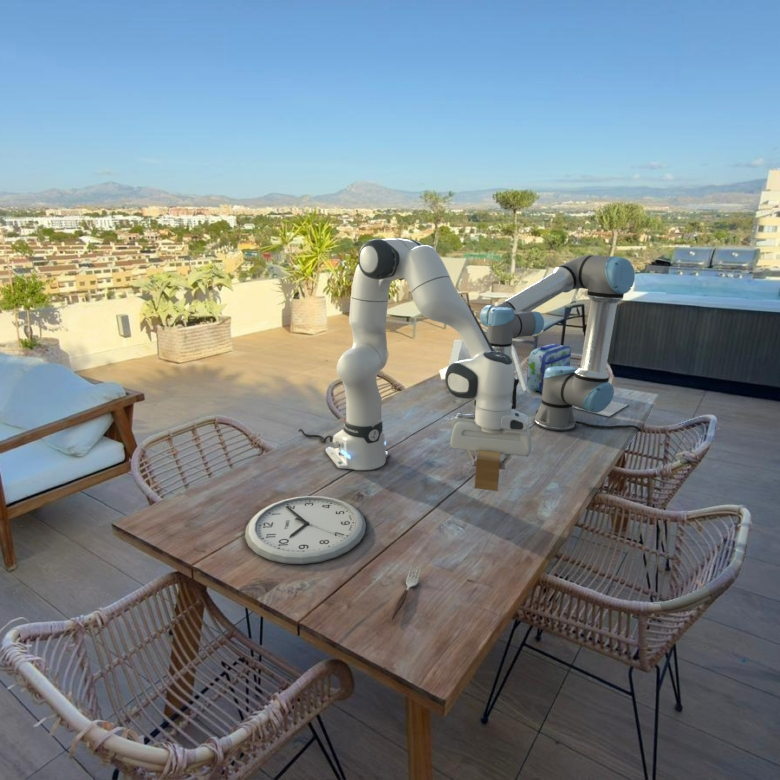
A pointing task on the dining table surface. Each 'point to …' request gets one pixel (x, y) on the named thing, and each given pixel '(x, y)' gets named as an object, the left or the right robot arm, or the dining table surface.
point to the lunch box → (545, 363)
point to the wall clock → (305, 530)
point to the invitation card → (610, 408)
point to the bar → (487, 470)
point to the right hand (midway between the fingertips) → (493, 427)
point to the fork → (410, 583)
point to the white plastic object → (462, 353)
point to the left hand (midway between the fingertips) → (488, 466)
